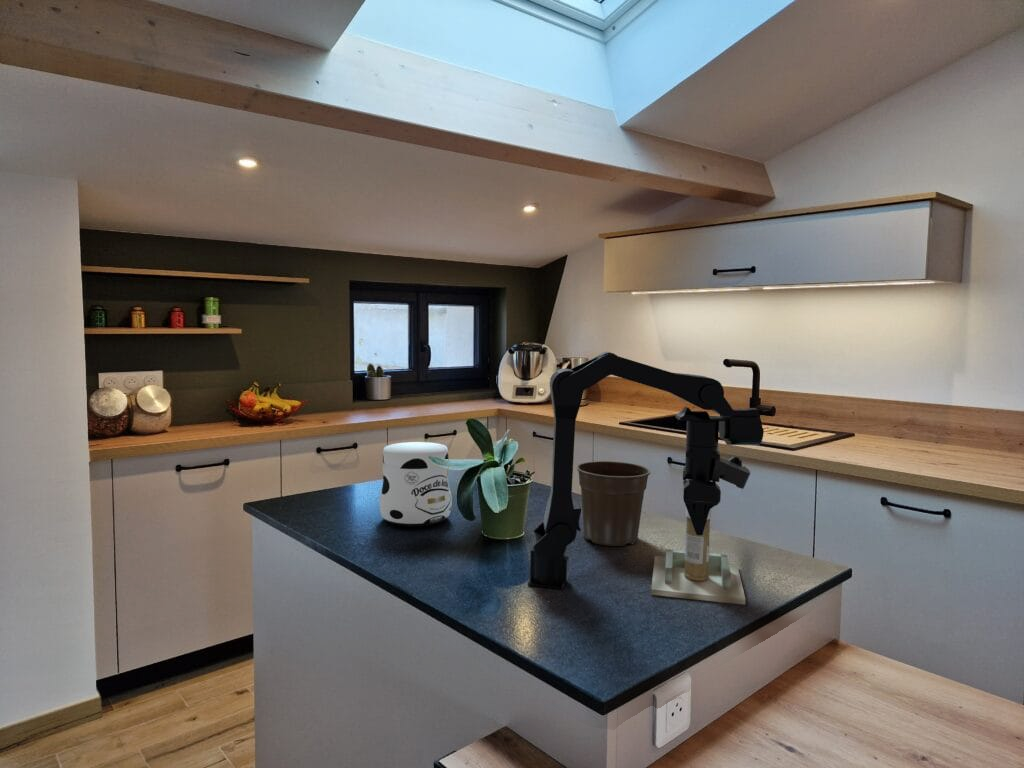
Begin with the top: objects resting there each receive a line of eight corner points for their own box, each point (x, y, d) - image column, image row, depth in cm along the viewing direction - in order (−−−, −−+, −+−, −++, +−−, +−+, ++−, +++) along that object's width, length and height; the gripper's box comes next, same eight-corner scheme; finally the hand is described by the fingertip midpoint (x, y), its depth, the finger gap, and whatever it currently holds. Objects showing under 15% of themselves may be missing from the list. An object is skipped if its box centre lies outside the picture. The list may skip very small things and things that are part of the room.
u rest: (651, 594, 121) (651, 573, 121) (654, 560, 139) (655, 541, 138) (745, 604, 118) (746, 582, 117) (736, 568, 135) (737, 548, 135)
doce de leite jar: (441, 534, 154) (441, 456, 152) (368, 529, 157) (368, 452, 155) (459, 513, 171) (459, 442, 169) (393, 509, 174) (393, 439, 172)
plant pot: (641, 528, 161) (644, 461, 159) (654, 551, 144) (656, 477, 143) (573, 526, 161) (574, 459, 160) (577, 549, 145) (579, 475, 143)
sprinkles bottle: (713, 578, 127) (716, 507, 126) (697, 583, 124) (700, 511, 123) (694, 571, 130) (697, 502, 129) (678, 575, 128) (681, 505, 127)
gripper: (753, 457, 114) (749, 547, 115) (743, 438, 132) (739, 517, 133) (685, 453, 116) (681, 541, 118) (684, 435, 135) (681, 512, 136)
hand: (698, 527), depth 126 cm, fingers open, 9 cm apart
